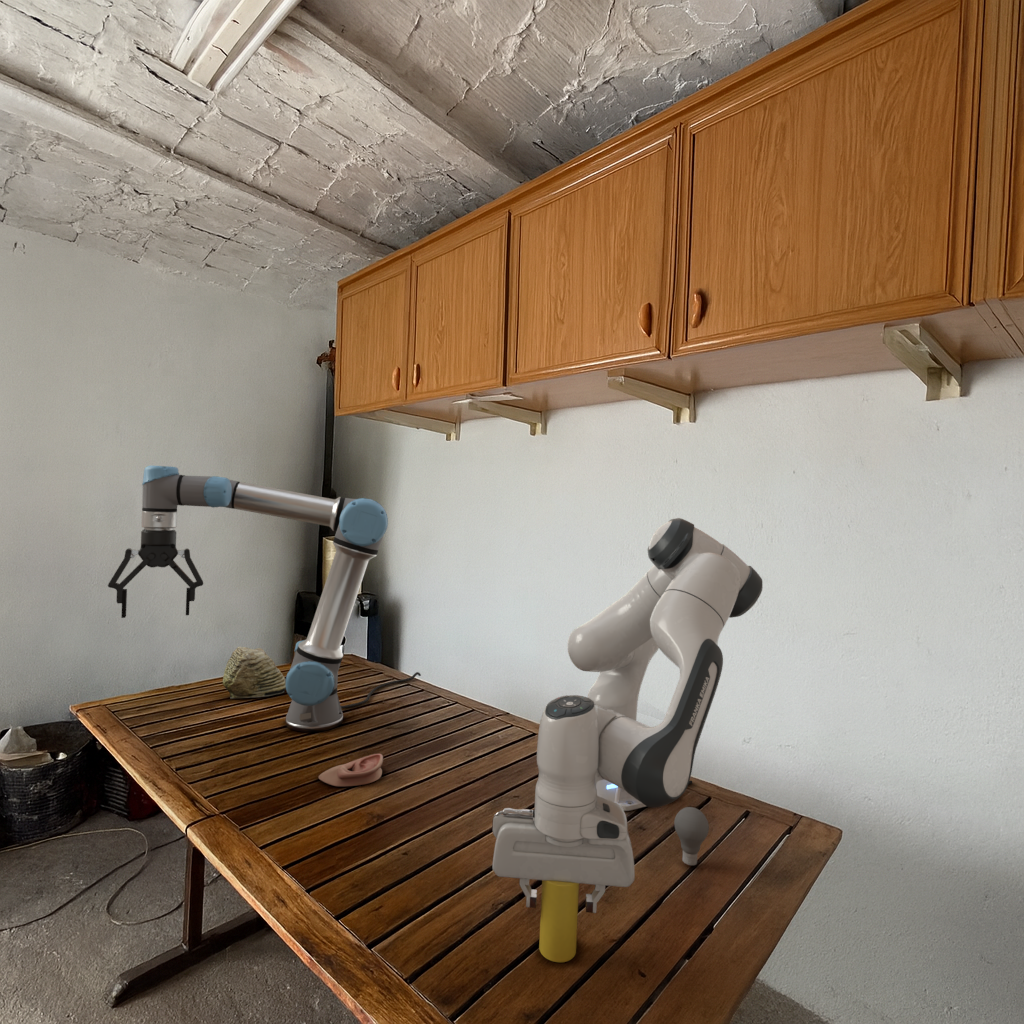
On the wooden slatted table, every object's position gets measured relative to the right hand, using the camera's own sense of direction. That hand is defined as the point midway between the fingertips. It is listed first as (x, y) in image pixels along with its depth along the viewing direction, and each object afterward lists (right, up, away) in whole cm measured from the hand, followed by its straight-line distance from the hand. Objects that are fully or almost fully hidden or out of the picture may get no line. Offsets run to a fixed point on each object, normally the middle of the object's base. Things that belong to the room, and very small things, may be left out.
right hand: (560, 907), depth 91 cm
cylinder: (0, -6, 0) cm, 6 cm away
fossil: (-88, 0, +107) cm, 138 cm away
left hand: (-94, +32, +64) cm, 118 cm away
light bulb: (+25, -7, +23) cm, 35 cm away
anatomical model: (-44, -3, +53) cm, 68 cm away
